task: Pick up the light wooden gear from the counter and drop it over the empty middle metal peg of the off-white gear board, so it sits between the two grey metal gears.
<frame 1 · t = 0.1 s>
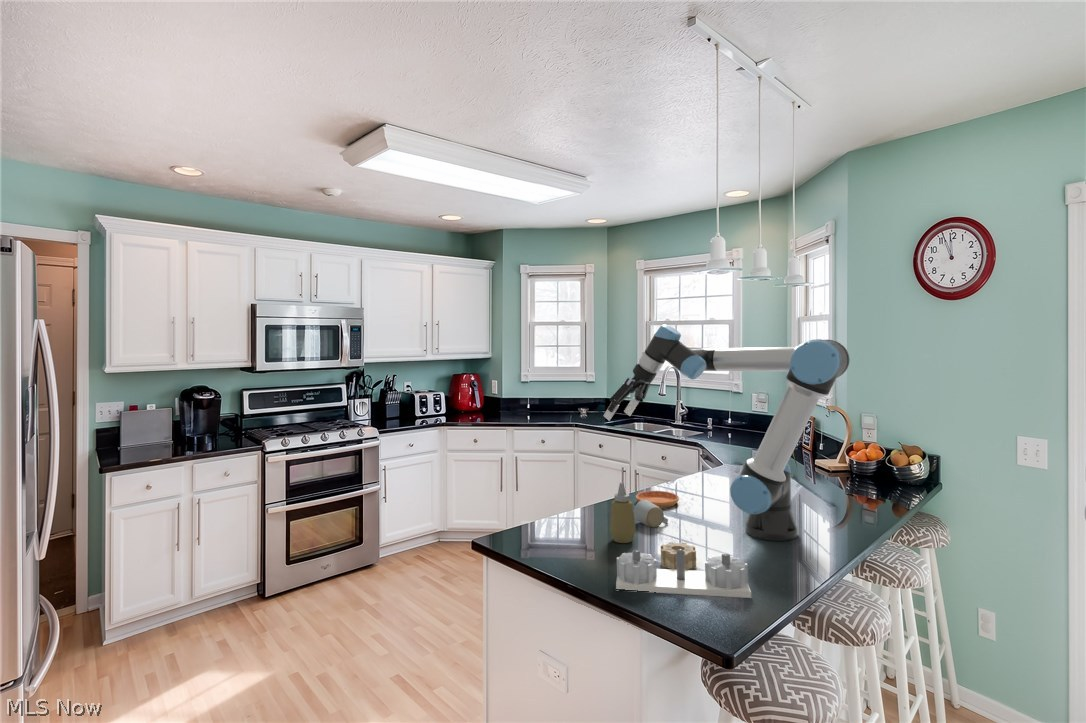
hand: (617, 415, 196), 36 cm above the kitchen counter, tool tilted 35°, fingers open, 13 cm apart
ceramic mug: (652, 524, 189), on the kitchen counter
saucer: (657, 504, 213), on the kitchen counter
squeeze bottle: (622, 541, 174), on the kitchen counter
wooden gear: (678, 564, 154), on the kitchen counter
gear board: (681, 584, 141), on the kitchen counter
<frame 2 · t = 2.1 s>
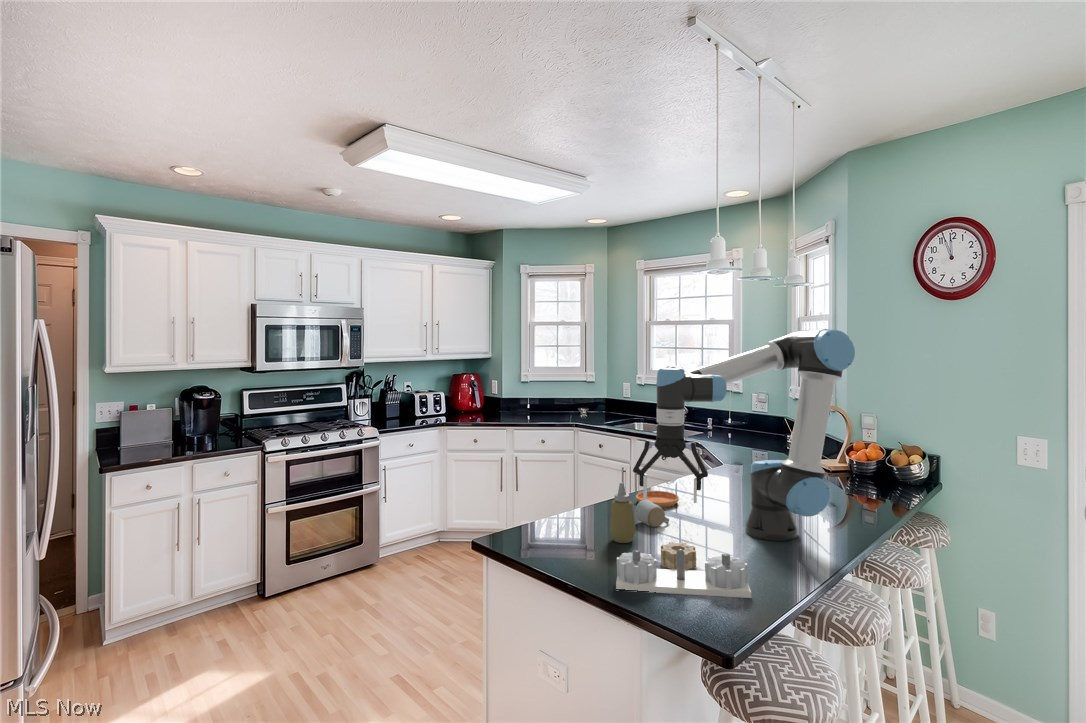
hand: (669, 500, 155), 17 cm above the kitchen counter, tool pointing down, fingers open, 13 cm apart
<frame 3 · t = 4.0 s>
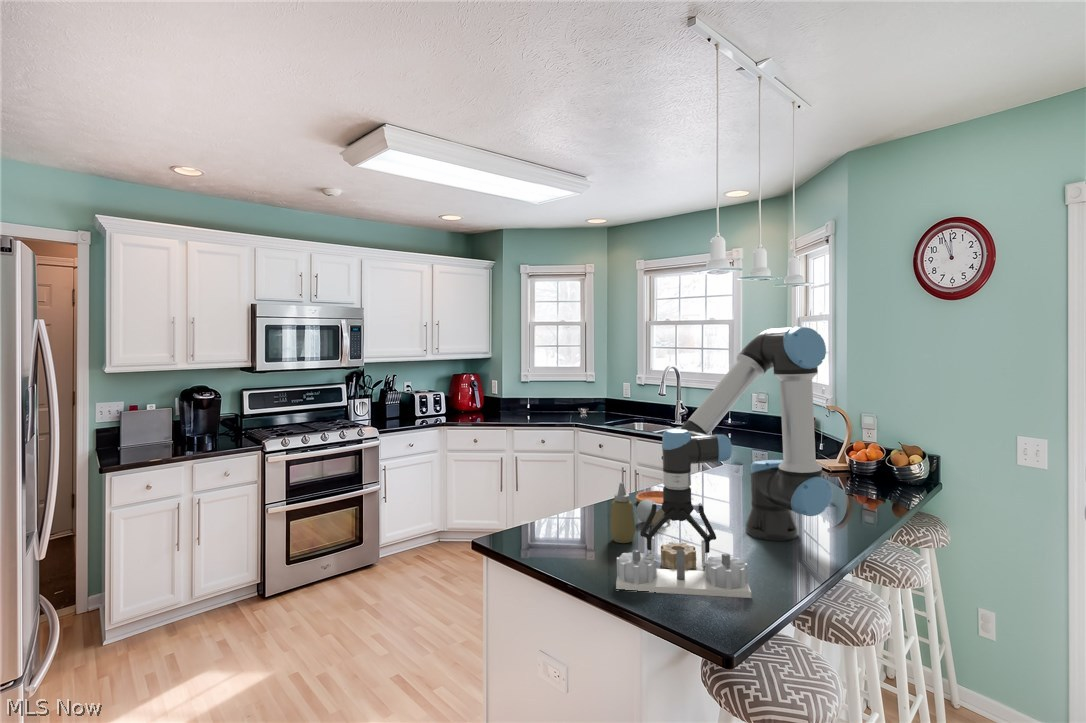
hand: (678, 562, 154), 0 cm above the kitchen counter, tool pointing down, fingers open, 13 cm apart
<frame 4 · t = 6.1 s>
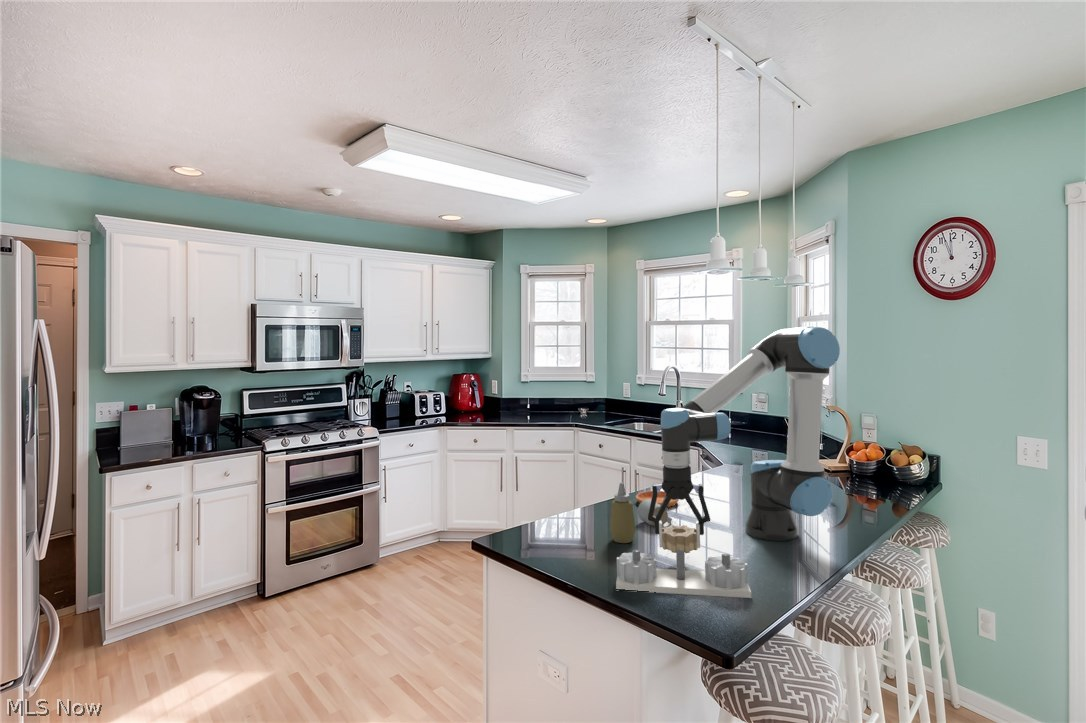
hand: (679, 545, 154), 5 cm above the kitchen counter, tool pointing down, fingers closed on wooden gear, 9 cm apart
wooden gear: (679, 546, 154), point 5 cm above the kitchen counter, touching gripper
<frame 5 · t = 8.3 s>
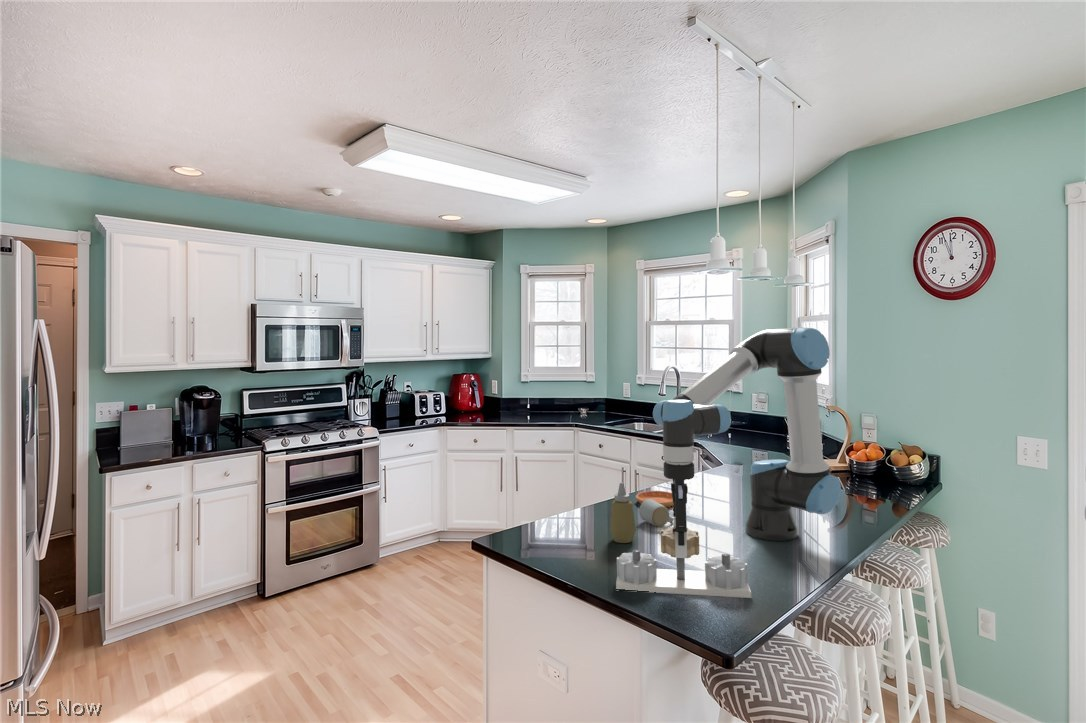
hand: (680, 549, 141), 9 cm above the kitchen counter, tool pointing down, fingers closed on wooden gear, 9 cm apart
wooden gear: (679, 550, 141), point 9 cm above the kitchen counter, touching gripper
when the fingers open (3 cm above the kitchen counter, at t = 10.5 s): wooden gear stays where it is, resting on gear board.
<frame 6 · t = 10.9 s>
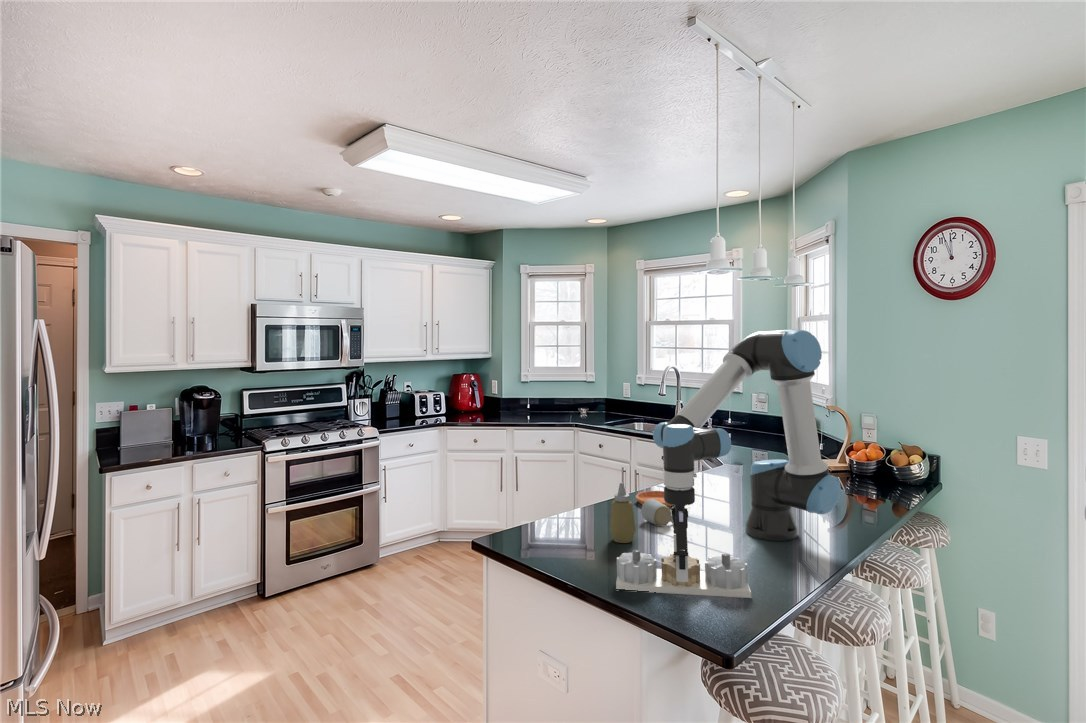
hand: (680, 570, 141), 4 cm above the kitchen counter, tool pointing down, fingers open, 13 cm apart
wooden gear: (680, 578, 141), point 1 cm above the kitchen counter, touching gear board
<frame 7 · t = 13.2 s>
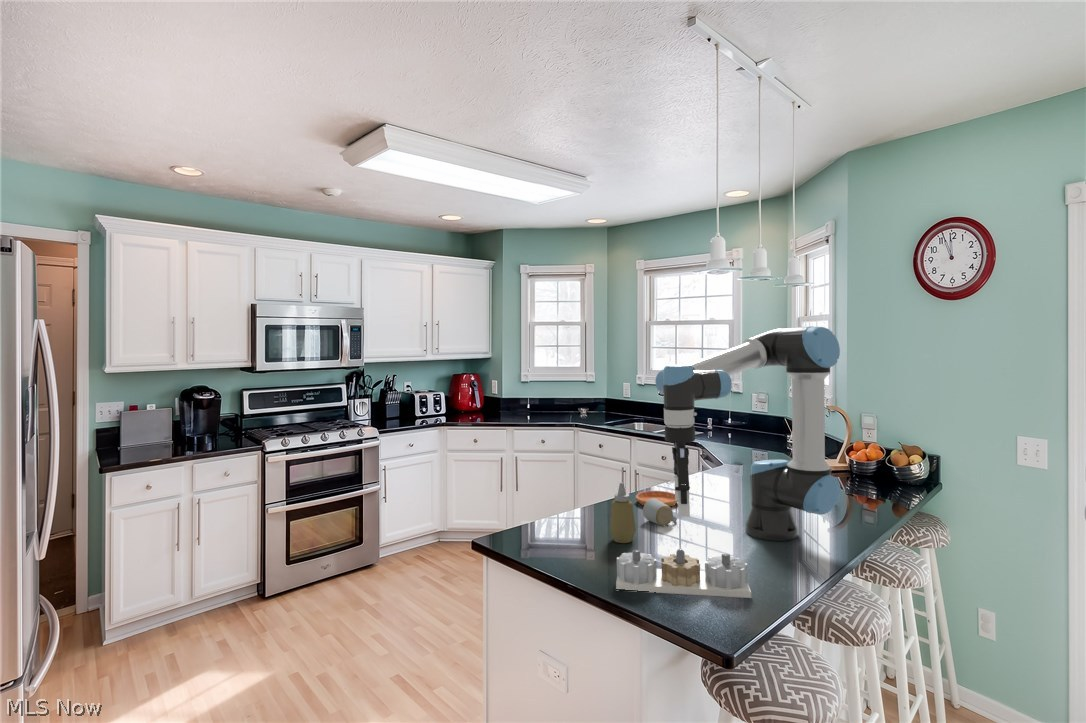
hand: (682, 507, 143), 19 cm above the kitchen counter, tool pointing down, fingers open, 13 cm apart
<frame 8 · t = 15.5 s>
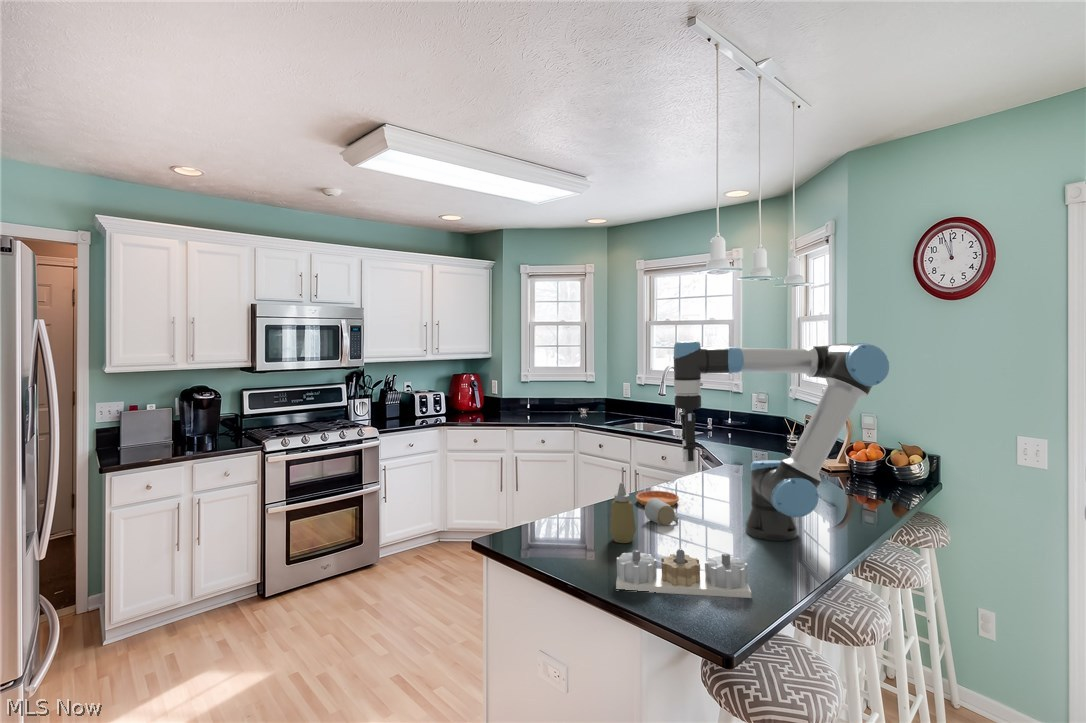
hand: (689, 466, 163), 25 cm above the kitchen counter, tool pointing down, fingers open, 13 cm apart
at the end: wooden gear 0.1 cm off-centre on the gear board, point 1.5 cm above the gear board's base; wooden gear tilted 0°; the gripper is holding nothing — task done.
